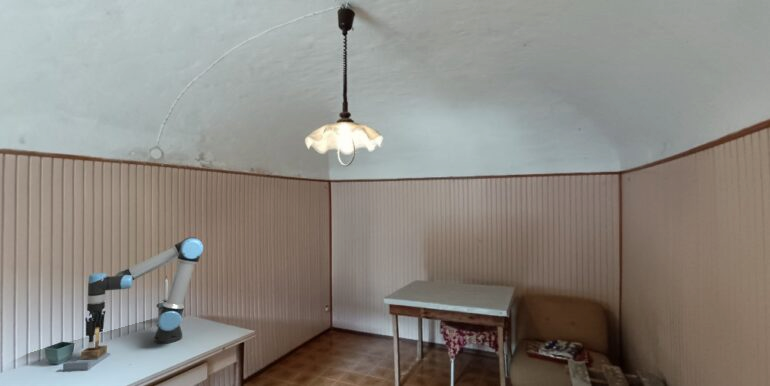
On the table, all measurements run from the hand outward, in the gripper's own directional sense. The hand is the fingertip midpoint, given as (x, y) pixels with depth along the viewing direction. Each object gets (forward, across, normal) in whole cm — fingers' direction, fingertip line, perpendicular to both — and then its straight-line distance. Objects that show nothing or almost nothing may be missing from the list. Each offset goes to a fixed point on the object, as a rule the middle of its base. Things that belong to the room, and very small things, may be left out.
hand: (94, 345), depth 194 cm
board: (+7, +5, 0) cm, 9 cm away
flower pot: (+7, +2, -15) cm, 17 cm away
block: (+5, 0, 0) cm, 5 cm away
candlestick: (+7, -54, +13) cm, 56 cm away
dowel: (+4, 0, 0) cm, 4 cm away
